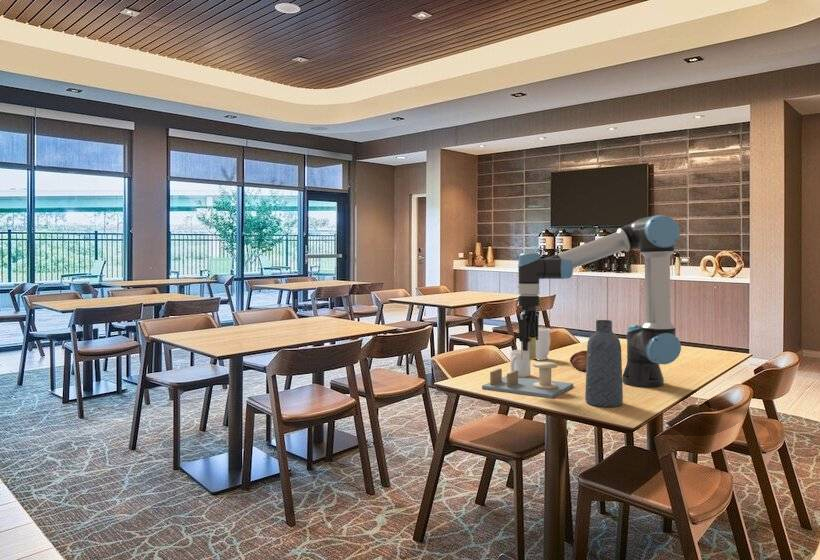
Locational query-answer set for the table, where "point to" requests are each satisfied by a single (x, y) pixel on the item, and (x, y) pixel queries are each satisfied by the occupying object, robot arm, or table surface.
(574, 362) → the pastry
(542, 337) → the jar
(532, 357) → the beige upright block
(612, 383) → the vase
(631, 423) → the table surface
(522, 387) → the board
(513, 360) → the mug
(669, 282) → the robot arm
